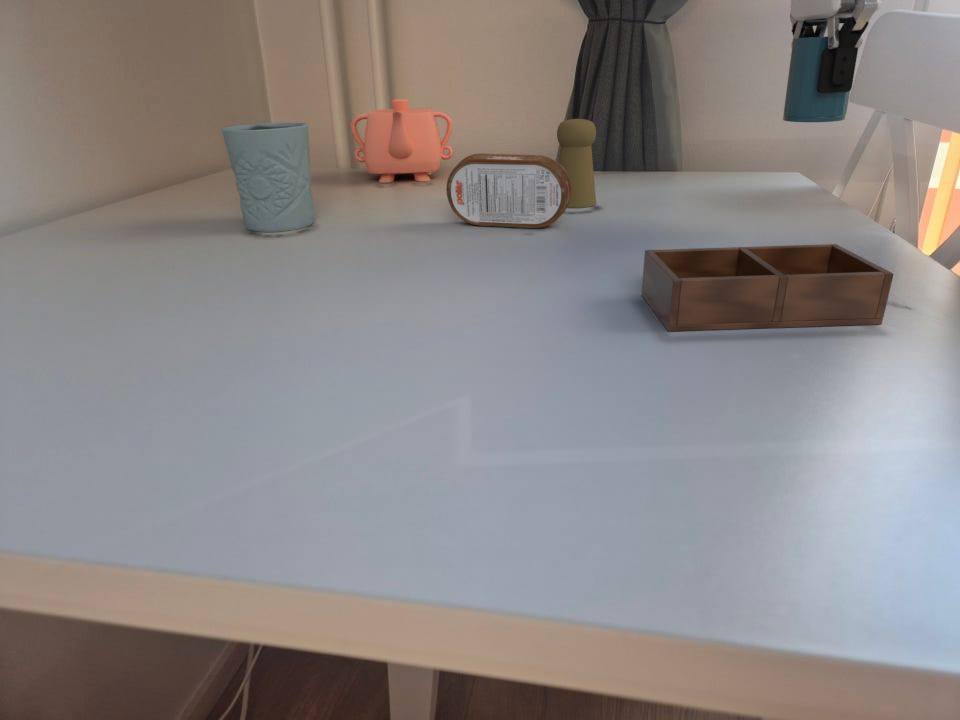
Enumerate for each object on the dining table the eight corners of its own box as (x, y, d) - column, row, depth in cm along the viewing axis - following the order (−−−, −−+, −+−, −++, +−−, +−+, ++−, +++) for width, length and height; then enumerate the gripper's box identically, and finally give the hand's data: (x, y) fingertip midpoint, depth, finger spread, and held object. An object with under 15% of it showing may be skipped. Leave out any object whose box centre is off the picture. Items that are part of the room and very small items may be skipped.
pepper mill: (604, 205, 92) (608, 119, 88) (565, 209, 90) (567, 122, 86) (582, 197, 97) (585, 116, 93) (544, 201, 95) (545, 119, 91)
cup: (827, 116, 75) (839, 36, 72) (856, 120, 69) (870, 34, 66) (773, 118, 75) (783, 39, 72) (797, 123, 70) (809, 37, 66)
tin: (570, 225, 82) (573, 153, 79) (566, 231, 79) (568, 157, 76) (452, 220, 86) (450, 152, 83) (445, 226, 83) (441, 155, 80)
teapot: (409, 167, 127) (404, 95, 121) (470, 176, 116) (468, 97, 111) (342, 178, 117) (333, 100, 112) (402, 189, 106) (395, 103, 101)
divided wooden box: (827, 289, 59) (836, 243, 57) (881, 324, 51) (894, 273, 49) (641, 295, 58) (644, 249, 57) (668, 331, 51) (673, 280, 49)
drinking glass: (257, 237, 80) (240, 131, 75) (226, 223, 88) (208, 126, 83) (334, 223, 86) (322, 124, 81) (298, 211, 93) (286, 119, 88)
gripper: (947, -141, 56) (901, 93, 63) (841, -97, 72) (814, 86, 79) (856, -137, 56) (821, 97, 63) (770, -94, 72) (750, 89, 79)
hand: (817, 89), depth 71 cm, fingers closed on cup, 6 cm apart
